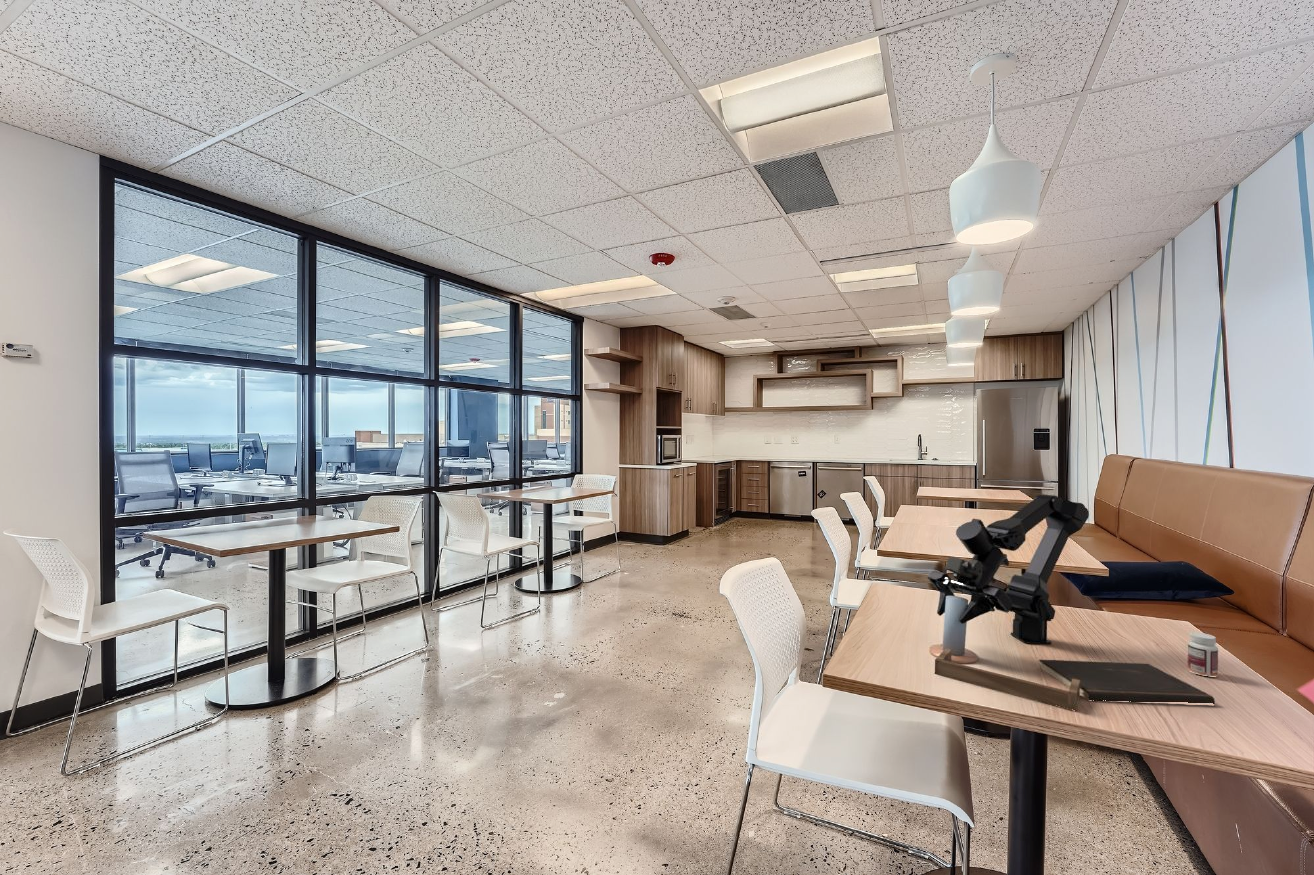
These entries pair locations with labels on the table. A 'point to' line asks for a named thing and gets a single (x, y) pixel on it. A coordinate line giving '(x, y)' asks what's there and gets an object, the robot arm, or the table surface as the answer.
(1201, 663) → the pill bottle
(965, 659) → the terracotta coaster
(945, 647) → the blue canister
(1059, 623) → the table surface
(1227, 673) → the table surface
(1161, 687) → the hardcover book
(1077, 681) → the walnut rack
